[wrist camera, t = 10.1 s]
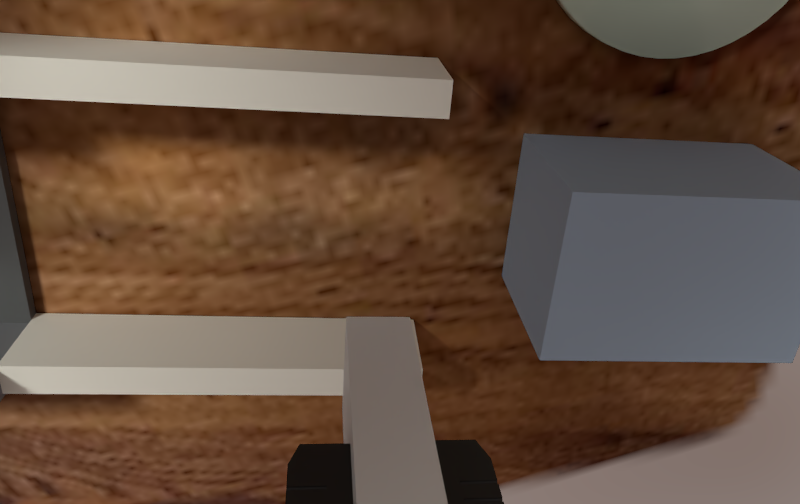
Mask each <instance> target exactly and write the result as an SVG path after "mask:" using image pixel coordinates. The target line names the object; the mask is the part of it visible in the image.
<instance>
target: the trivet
mask: <svg viewBox="0 0 800 504" xmlns="http://www.w3.org/2000/svg"><path fill="white" fill-rule="evenodd" d="M556 1H557V2H558V4H559V5H560V6H561V8H562V9H563V10H564V11H565V13H566V14H567V15H568V16H569V17H570V19H572V20H573V21H574V22H575V23H576V24H577V25H578V26H579V27H580V28H581V29H583V30H584V31H585V32H587V33H588V34H590V35H591V36H593V37H594V38H596V39H597V40H599V41H601V42H603V43H605V44H607V45H610V46H612V47H614V48H616V49H618V50H621V51H623V52H626V53H630V54H633V55H637V56H641V57H649V58H656V59H669V58H682V57H689V56H695V55H699V54H702V53H706V52H709V51H713V50H715V49H718V48H720V47H723V46H725V45H727V44H730V43H732V42H734V41H736V40H737V39H739V38H741V37H743V36H745V35H746V34H748V33H750V32H751V31H753V30H754V29H755V28H757V27H758V26H760V25H761V24H763V23H764V22H765V21H767V20H768V19H769V18H770V17H771V16H772V15H774V14H775V13H776V12H777V11H778V10H779V9H780V8H782V7H783V6H784V5H785V4H786V3H787V1H788V0H556Z"/></svg>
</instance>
